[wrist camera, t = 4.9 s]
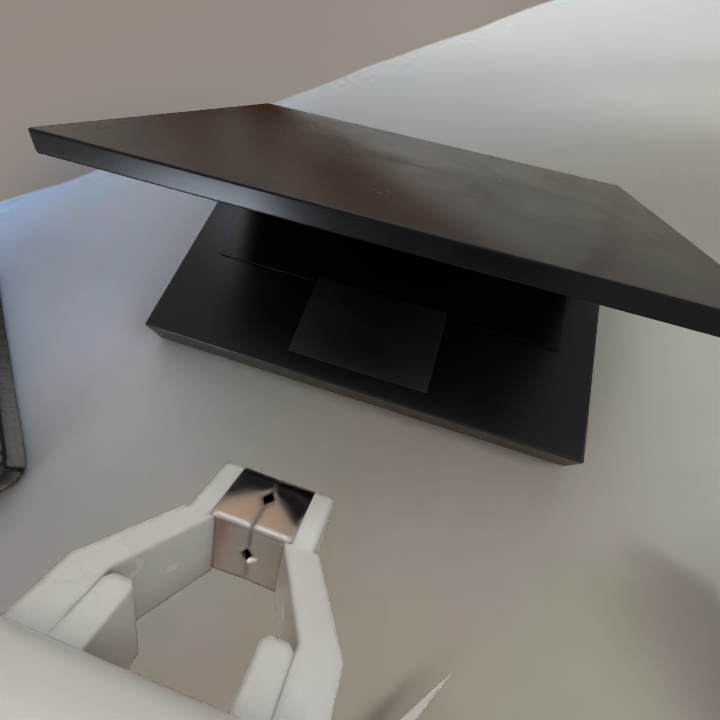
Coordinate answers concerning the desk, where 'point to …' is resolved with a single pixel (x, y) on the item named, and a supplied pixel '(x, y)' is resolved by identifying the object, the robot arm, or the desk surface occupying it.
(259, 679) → the robot arm
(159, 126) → the laptop screen
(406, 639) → the desk surface
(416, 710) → the scissors
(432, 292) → the laptop
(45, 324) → the desk surface
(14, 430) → the phone
